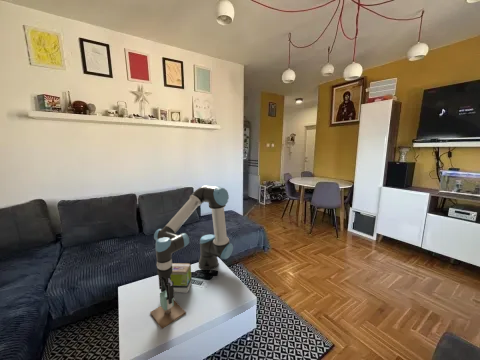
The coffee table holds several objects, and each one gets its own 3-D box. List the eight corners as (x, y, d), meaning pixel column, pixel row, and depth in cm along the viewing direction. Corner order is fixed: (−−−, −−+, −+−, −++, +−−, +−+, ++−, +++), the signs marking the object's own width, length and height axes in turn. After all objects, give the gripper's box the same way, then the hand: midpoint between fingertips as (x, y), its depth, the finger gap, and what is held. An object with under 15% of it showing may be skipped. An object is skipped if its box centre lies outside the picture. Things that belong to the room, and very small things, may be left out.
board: (173, 300, 126) (173, 298, 126) (185, 313, 117) (185, 311, 116) (150, 313, 117) (150, 312, 116) (161, 329, 107) (161, 327, 107)
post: (169, 309, 118) (168, 300, 117) (171, 311, 116) (170, 302, 115) (164, 311, 116) (164, 302, 115) (166, 314, 115) (166, 305, 114)
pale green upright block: (169, 300, 119) (168, 288, 118) (173, 305, 115) (173, 293, 114) (160, 305, 115) (159, 293, 114) (164, 310, 112) (164, 298, 111)
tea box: (192, 282, 142) (191, 263, 139) (187, 293, 132) (186, 272, 130) (170, 282, 143) (169, 262, 140) (164, 292, 133) (162, 271, 130)
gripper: (150, 262, 115) (153, 299, 119) (166, 277, 102) (168, 318, 107) (163, 257, 120) (166, 293, 124) (179, 270, 108) (182, 310, 112)
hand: (167, 304), depth 116 cm, fingers closed on pale green upright block, 5 cm apart
